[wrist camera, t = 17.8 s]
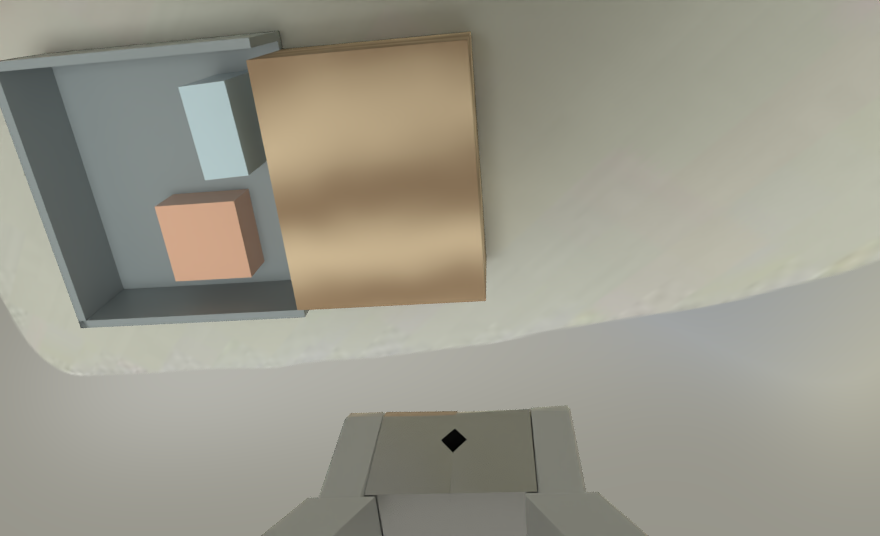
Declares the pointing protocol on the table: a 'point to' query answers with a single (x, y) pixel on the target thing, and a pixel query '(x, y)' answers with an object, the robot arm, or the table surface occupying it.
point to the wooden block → (375, 170)
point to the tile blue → (224, 125)
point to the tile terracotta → (210, 235)
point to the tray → (134, 178)
